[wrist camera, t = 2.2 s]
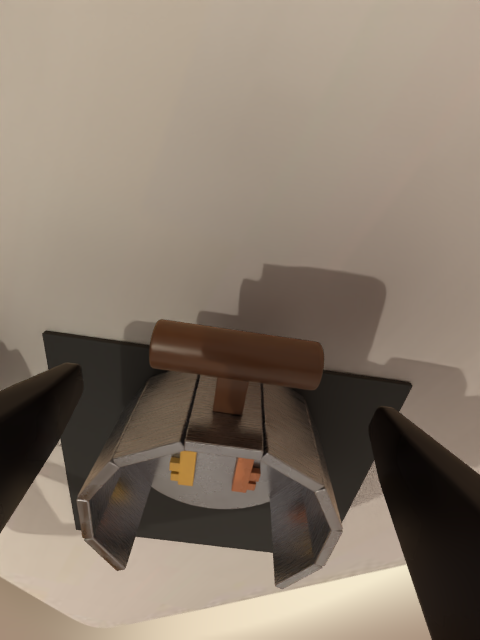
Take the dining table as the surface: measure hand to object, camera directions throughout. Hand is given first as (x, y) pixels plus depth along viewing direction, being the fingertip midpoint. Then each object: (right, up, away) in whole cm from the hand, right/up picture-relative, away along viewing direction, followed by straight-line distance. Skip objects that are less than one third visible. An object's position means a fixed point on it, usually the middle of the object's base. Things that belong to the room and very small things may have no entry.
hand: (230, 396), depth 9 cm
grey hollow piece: (-1, -3, +7) cm, 8 cm away
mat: (-1, -8, +11) cm, 14 cm away
